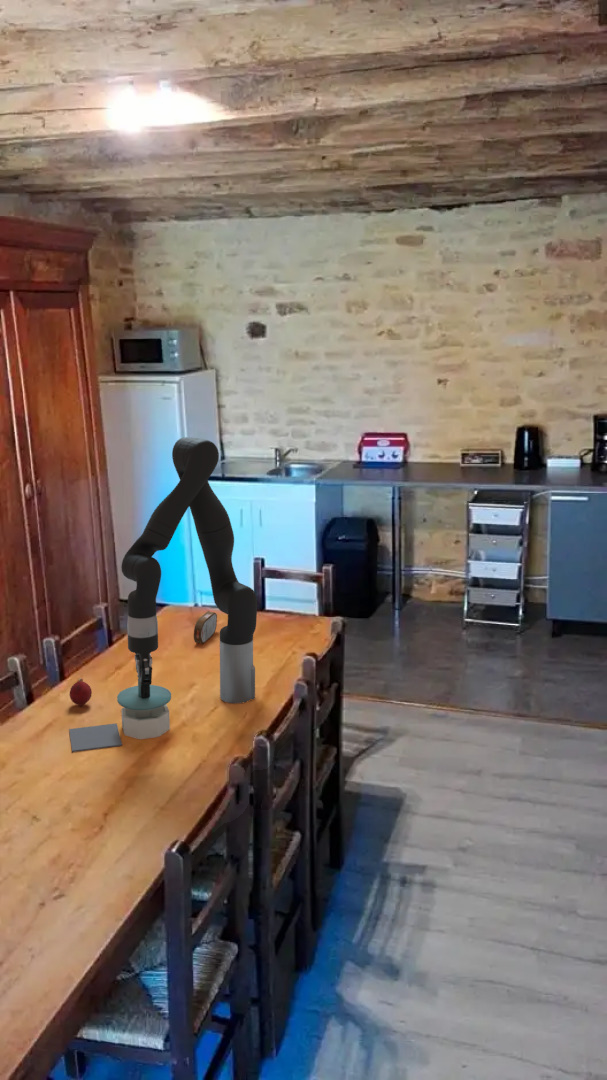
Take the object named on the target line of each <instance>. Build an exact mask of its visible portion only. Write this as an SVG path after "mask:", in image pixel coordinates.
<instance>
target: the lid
mask: <svg viewBox="0 0 607 1080" xmlns="http://www.w3.org/2000/svg"><path fill="white" fill-rule="evenodd" d="M144 680H148V679H144ZM116 698H117V702H116V703H118V705H119V706H121V707H122V708H124V707H125V708H128V709H133V710H149V709H155V708H159V707H162V706H164V705H166V704H167V705H168V704H169V703H170V701H171V699H172V693H171V691H170V690H169V689H167V688H166V687H164V686H160V685H154V684H151V685H150V697H149V698H141V685H140V678H138V677H137V685H133V686H131V687H128V688H125V689H122V691H120V692H119V693H118V694H117V696H116Z"/></svg>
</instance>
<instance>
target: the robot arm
mask: <svg viewBox="0 0 607 1080" xmlns="http://www.w3.org/2000/svg"><path fill="white" fill-rule="evenodd" d="M171 455H172V457H171V458H172V463H173V465H174V469H175V471H176V473H177V476H178V479H179V482H177V484H176V486H174V488H173V490H171V492H170V493H169V494H168V495H166V497H164V499H163V500H162V501H160V503H159V504H158V505H157V506H156V508H155V509H154V511H153V512H152V513H151V515H150V518H149V520H148V522H147V523H146V526H145V528H144V530H143V532H142V534H141V535H140V536H139V537H138V538H137V539H136V541H134V543H133V544H132V546H131V547H130V548H129V549H128V550H127V551H126V553H125V555H124V556H123V559H122V562H121V572H122V575H123V576H124V577H125V578H127V579H128V580H130V581H133V582H136V586H135V587H136V588H135V589H134V590H132V591H130V592H129V594H128V596H127V623H126V624H127V627H126V628H127V648H128V651H130V652H131V653H134V661H135V671H136V674H137V675H136V676H137V679H138V678H140V685H141V698H149V697H150V685H152V684H153V682H152V680H153V678H152V677H153V676H152V675H153V666H152V665H153V657H152V654H151V653H152V652H155V651H157V650H158V648H159V628H158V627H159V626H158V615H157V596H158V593H159V589H160V583H161V578H162V567H161V565H160V563H159V561H158V559H156V558H154V557H153V556H154V554H155V553H156V552H159V551H165V550H166V549H167V548H168V546H169V545H170V543H171V540H172V538H173V537H174V535H175V533H176V531H177V529H178V527H179V525H180V523H181V520H182V518H183V517H184V515H185V514H186V512H187V510H188V509H189V510H190V513H191V515H192V518H193V522H194V526H195V527H194V528H195V530H196V535H197V538H198V540H199V541H198V542H199V544H200V547H201V550H202V553H203V557H204V561H205V563H206V567H207V569H208V570H207V571H208V575H209V579H210V586H211V592H212V596H213V597H212V598H213V602H214V604H215V606H216V608H217V609H218V610H220V611H221V612H222V613H223V614H226V615H227V625H226V626H223V627H222V628H221V629H220V630H219V696H220V697H219V698H220V699H221V701H223V702H225V703H228V704H243V702H244V703H247V701H248V702H250V701H251V700H250V699H252V700H255V699H256V667H255V665H254V634H255V632H256V627H257V617H258V616H257V614H258V599H257V594H256V593H255V592H256V591H255V590H254V589H253V588H251V587H249V586H248V585H245V584H244V583H241V582H239V580H238V578H237V575H236V572H235V569H234V566H233V559H232V557H233V552H234V546H235V536H234V530H233V526H232V523H231V519H230V517H229V514H228V511H227V510H226V508H225V506H224V505H223V503H222V502H221V500H220V499H219V498H218V496H217V494H216V493H215V492H214V491H213V489H212V487H211V485H210V482H209V478H210V477H211V475H212V474H213V473H214V470H215V469H216V467H217V465H218V462H219V458H220V453H219V449H218V447H217V445H216V443H214V442H213V441H210V440H208V439H204V438H198V437H190V436H189V437H188V436H187V437H185V436H184V437H181V438H179V439H178V440H176V442H175V443H174V445H173V448H172V454H171ZM144 679H148V680H144ZM254 698H255V699H254ZM249 700H250V701H249Z"/></svg>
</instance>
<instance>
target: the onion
mask: <svg viewBox="0 0 607 1080" xmlns="http://www.w3.org/2000/svg"><path fill="white" fill-rule="evenodd" d="M91 697H92V688H91V686H90V685H89V684H88V683H87V682H86V681H84V679H83V678H82V677H80V678H78V680H77V682H75V683H73V685H72V686H71V687H70V690H69V699H70V700H71V702H72V703H74V704H75V705H77V706H79V707H83V706H85V704H87V703H88V702H89V701H90V700H91Z"/></svg>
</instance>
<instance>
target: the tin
mask: <svg viewBox="0 0 607 1080" xmlns="http://www.w3.org/2000/svg"><path fill="white" fill-rule="evenodd" d="M217 626H218V614H217V613H216V612H214V611H210V610H208V611H206V612H204V613H203V614H202V615H201V616H200V617H199V618H198V619H197V621H196V622H195V624H194V629H193V641H194V643H197V644H205V643H206V642H207V641H208V640H210V639H211V638H212V636H214V634H215V632H216V630H217Z"/></svg>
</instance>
